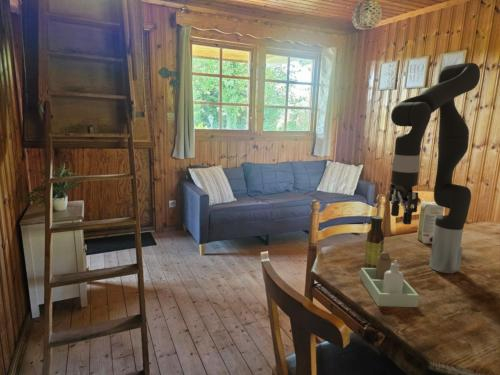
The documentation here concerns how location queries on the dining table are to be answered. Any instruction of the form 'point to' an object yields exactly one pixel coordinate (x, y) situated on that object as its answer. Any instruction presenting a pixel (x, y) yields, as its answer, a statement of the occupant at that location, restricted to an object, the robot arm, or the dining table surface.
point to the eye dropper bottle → (393, 279)
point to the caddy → (375, 285)
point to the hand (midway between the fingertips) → (400, 219)
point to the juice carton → (428, 220)
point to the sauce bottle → (374, 242)
